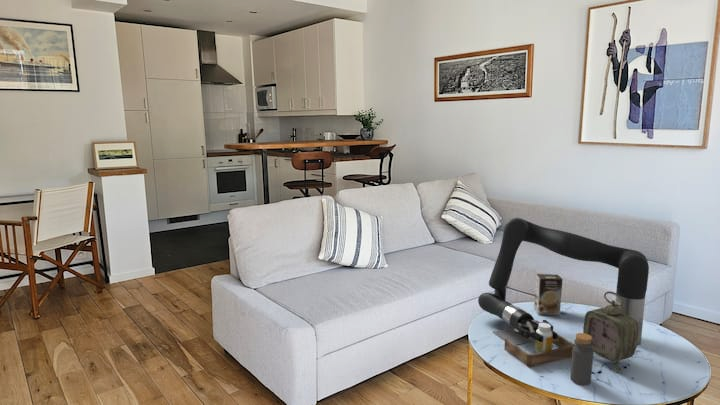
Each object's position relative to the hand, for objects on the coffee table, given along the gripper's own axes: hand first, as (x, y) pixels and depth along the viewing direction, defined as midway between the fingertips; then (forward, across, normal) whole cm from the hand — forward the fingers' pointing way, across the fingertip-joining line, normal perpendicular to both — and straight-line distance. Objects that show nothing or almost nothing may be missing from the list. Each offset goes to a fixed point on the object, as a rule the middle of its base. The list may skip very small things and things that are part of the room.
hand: (549, 338), depth 159 cm
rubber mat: (-18, 0, +8) cm, 19 cm away
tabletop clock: (+10, +17, +8) cm, 21 cm away
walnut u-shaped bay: (-5, 0, +8) cm, 9 cm away
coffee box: (-31, +26, +8) cm, 41 cm away
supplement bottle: (-3, 0, +6) cm, 7 cm away
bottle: (+15, 0, +8) cm, 16 cm away
